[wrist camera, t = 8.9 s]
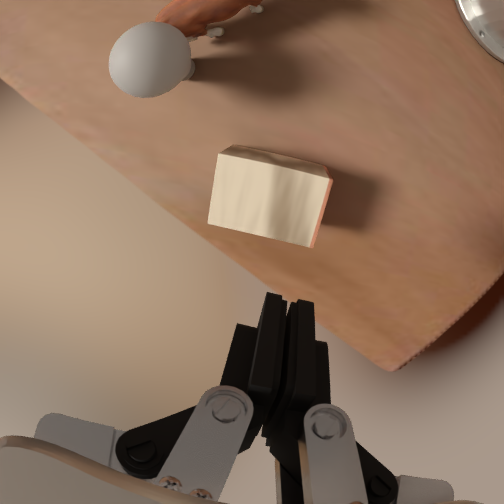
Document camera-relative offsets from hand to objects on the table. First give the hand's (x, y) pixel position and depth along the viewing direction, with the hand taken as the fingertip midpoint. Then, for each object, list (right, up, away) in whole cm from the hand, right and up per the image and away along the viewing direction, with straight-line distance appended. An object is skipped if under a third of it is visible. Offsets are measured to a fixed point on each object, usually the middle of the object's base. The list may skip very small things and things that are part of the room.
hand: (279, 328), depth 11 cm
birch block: (+5, +7, +15) cm, 18 cm away
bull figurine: (-2, +26, +11) cm, 28 cm away
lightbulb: (-7, +20, +14) cm, 26 cm away
